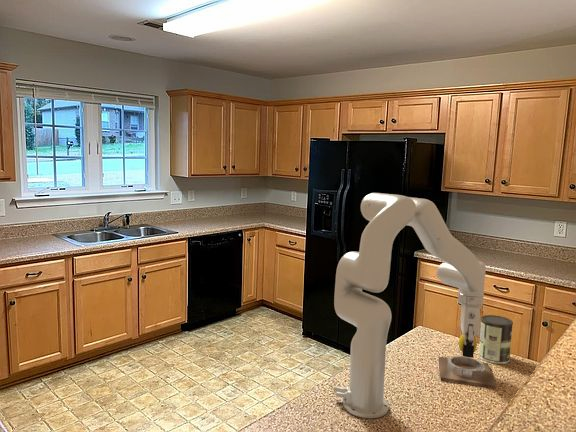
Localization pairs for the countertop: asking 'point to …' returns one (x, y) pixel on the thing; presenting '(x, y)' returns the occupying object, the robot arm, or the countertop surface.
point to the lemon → (461, 342)
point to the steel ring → (462, 371)
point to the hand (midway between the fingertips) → (466, 352)
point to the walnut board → (450, 377)
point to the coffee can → (495, 339)
